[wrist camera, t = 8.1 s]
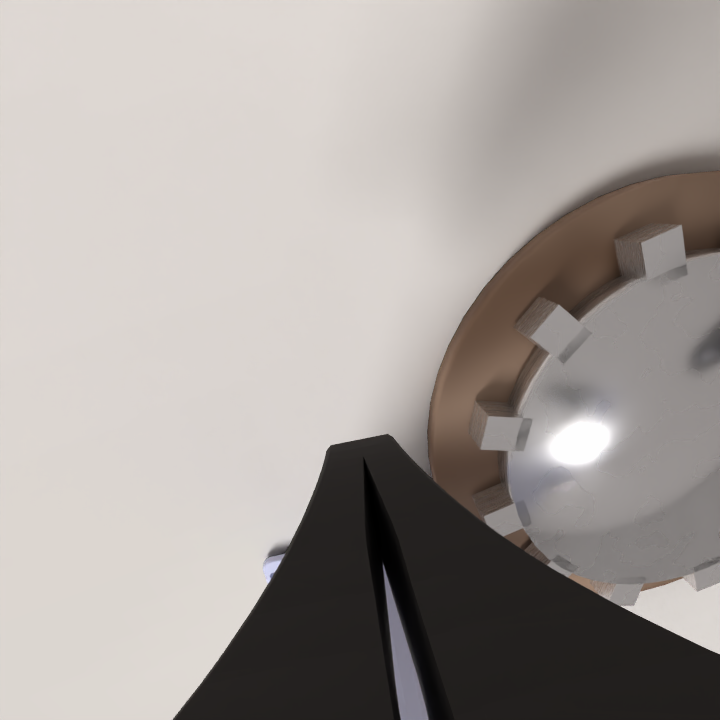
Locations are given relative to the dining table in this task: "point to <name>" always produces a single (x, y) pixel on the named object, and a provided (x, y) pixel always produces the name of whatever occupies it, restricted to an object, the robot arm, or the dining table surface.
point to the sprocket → (617, 425)
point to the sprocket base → (559, 285)
